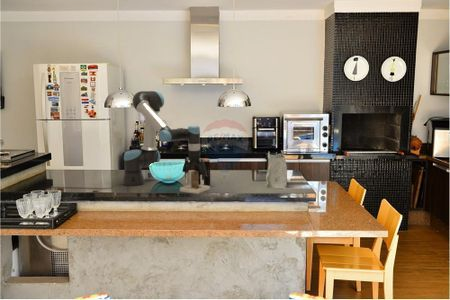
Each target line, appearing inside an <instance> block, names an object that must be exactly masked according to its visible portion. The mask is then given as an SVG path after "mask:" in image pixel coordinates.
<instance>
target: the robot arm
mask: <svg viewBox="0 0 450 300" xmlns="http://www.w3.org/2000/svg"><path fill="white" fill-rule="evenodd" d="M164 105H165V98H164V96H163V94H162V93H161V92H160V91H156V90H155V91H154V90H149V91H147V90H142V91H138V92H136V93H135V94H134V95H133V97H132V106H133V108H134V109H135V110H136V112H137V113H140V114H141V115H142V116H143V117H144V127H143V130H144V131H143V144H142V146H141V147H140V149H131V150H126V151H124V154H123V161H124V163H123V165H124V166H123V168H124V175H123V178H122V180H121V182H122V184H121V185H123V186H129V187H134V186H135V187H136V186H137V187H138V186H142V185H145V179H144V175H143V173H142V172H143V171H142V168H149V167H150V166H149V165H150V164H151V163H154V162H160V161H161V154H160V151H159V150H158V148H157V147H156V144H157V143H156V141H157V133H158V138H159V141H160V142H162V143H168V142H175V141H176V142H178V141H187V142H188V143H187V144H188V157H187V156H186V157H184V163H183V167H182V170H181V172H182V173H184V178H185V184H189V183H190V172H189V171H190V169H191V168H192V166H193V165H194V166H195V165H196V166H197V167H198V169H199V170H200V172H201V175H200V181H201V185H203V184H204V179H205V174H207V169H206V166H205V163H204V159H200V158H201V128H200V126H198V125H189V126H188V128H183V127H178V128H173V129H172V128H170V127H169V125H168V124H167V123H166V122H165V121H164V120H163V119H162V118H161V117H160V115H159V113H160V112H161V108H163V106H164ZM200 162H201V163H200Z"/></svg>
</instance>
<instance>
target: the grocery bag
mask: <svg viewBox="0 0 450 300" xmlns="http://www.w3.org/2000/svg"><path fill="white" fill-rule="evenodd" d="M266 170H267V171H266V174H265V175H266V177H265V184H266V188H267V189H271V188H272V189H273V188H274V189H280V188H281V189H286V188H287V185H288V184H287V181H288V174H287V173H288V166H287V161H286V156H285V155H284V151H283V150H281V151H280V153H278V154H270V151H268V153H267V169H266Z"/></svg>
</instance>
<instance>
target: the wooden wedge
mask: <svg viewBox="0 0 450 300" xmlns="http://www.w3.org/2000/svg"><path fill="white" fill-rule="evenodd" d="M190 183H191V187H192V188H196V189H198V188H199V174H198V171H195V170H193V171H190Z"/></svg>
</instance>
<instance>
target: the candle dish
mask: <svg viewBox="0 0 450 300" xmlns="http://www.w3.org/2000/svg"><path fill="white" fill-rule="evenodd" d="M210 190H211V187H210V185H209V186H206V185H199V188H198V189H196V188H192V187H191V184H187V185H184V186H181V187H179V192H180V193H181V192H182V193H187V194H188V193H189V194H194V195H199V194H201V193H205V192H208V191H210Z"/></svg>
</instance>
